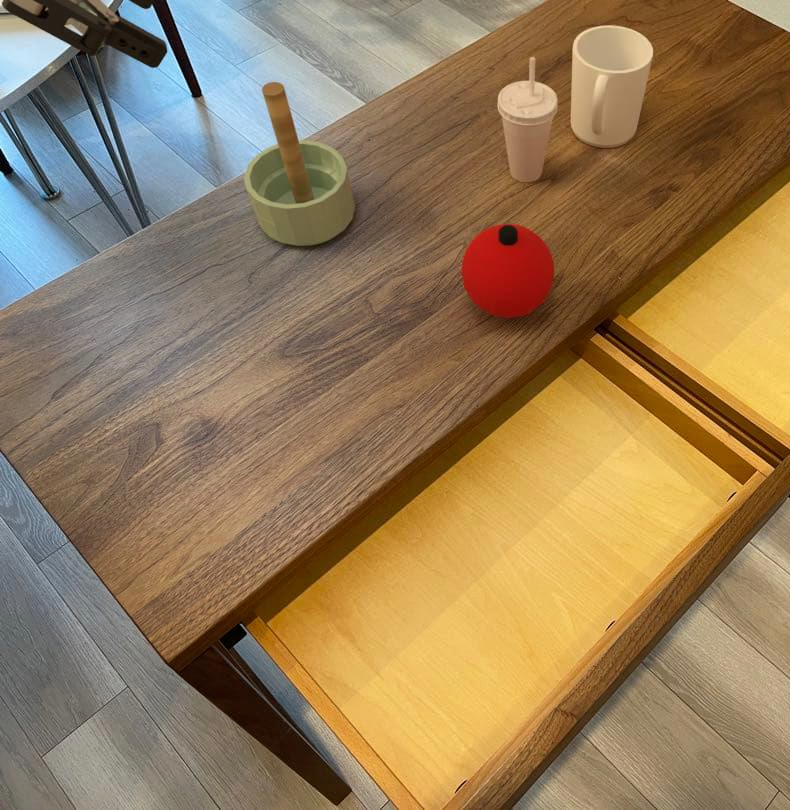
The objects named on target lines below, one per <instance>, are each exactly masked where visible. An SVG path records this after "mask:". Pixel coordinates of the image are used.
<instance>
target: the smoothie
mask: <svg viewBox="0 0 790 810" xmlns="http://www.w3.org/2000/svg"><path fill="white" fill-rule="evenodd" d="M528 73H529V75H528V76H529V77H528V80H519V81H515V82H511V83H509V84H507V85H506V86H505V87H503V88H502V89H501V90H500V92H499V93H498V95H497V107H496V108H497V110H498V112H499V114H500V116H501V121H502V127H503V128H502V129H503V134H504V141H505V147H506V155H507V162H508V167H509V174H510V176H511V177H512V178H513V179H514V180H515V181H517V182H520V183H533V182H535V181H537V180H539V179H540V178H541V176H542V174H543V169H544V164H545V160H546V154H547V149H548V144H549V138H550V136H551V135H550V134H551V129H552V125H553V119H554V117H555V116H556V114H557V113H558V109H559V108H558V107H559V105H558V102H559V101H558V96H557V93H556V92H555V90H554V89H552V88H551V87H550V86H548V85H546V84H545V83H542V82H538V81H536V80H535V79H536V58H535V57H534V56H531V57H530V58H529V71H528Z"/></svg>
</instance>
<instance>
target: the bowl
mask: <svg viewBox="0 0 790 810" xmlns="http://www.w3.org/2000/svg"><path fill="white" fill-rule="evenodd" d="M299 144H300V148H301V151H302V155H303V159H304V163H305V166H306V170H307V174H308V177H309V181H310V185H311V188H312V192H313V196H314V200H311V201H308V202H305V203H299V204H296V203H295V200H294V196H293V193H292V190H291V186H290V183H289V180H288V176H287V173H286V170H285V166H284V163H283V159H282V156H281V153H280V149H279V146H278V143H277V144H275V145H271V146H269V147H267V148H266V149H264V150H262V151H261V152H259V153H258V154H256V155H255V156H254V157H253V158H252V160H250V162H249V163H248V164H247V166H246V170H245V172H244V175H243V182H244V185H245V189H246V192H247V196H248V198H249V201H250V204H251V206H252V209H253V212H254V215H255V217H256V220H257V222H258V225H259V228H261V230H262V231H263V232H264V233H265V235H266V236H267V237H269V238H271V239H273V240H275V241H277V242H278V243H281V244H286V245H291V246H295V247H296V246H297V247H310V246H311V247H312V246H316V245H320V244H323V243H326V242H329V241H330V240H332V239H334V238H335V237H337V236H338V235H339V234H340V233H342V232H344V231H345V230H346V228H347V227H348V226H349V224H350V223H351V222H352V220H353V218H354V215H355V209H356V204H355V200H354V196H353V189H352V185H351V181H350V176H349V171H348V167H347V164H346V161H345V158H344V157H343V156H342V155H341V154H340V152H339V151H337V150H336V149H335V148H333V147H331V146H329V145H328V144H325V143H323V142H320V141H313V140H307V139H301V140H299Z"/></svg>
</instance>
